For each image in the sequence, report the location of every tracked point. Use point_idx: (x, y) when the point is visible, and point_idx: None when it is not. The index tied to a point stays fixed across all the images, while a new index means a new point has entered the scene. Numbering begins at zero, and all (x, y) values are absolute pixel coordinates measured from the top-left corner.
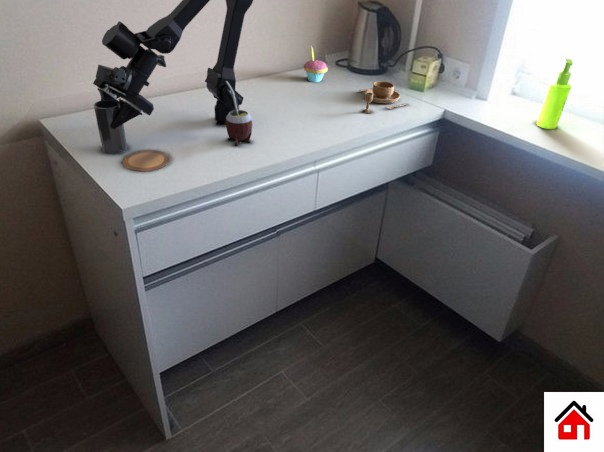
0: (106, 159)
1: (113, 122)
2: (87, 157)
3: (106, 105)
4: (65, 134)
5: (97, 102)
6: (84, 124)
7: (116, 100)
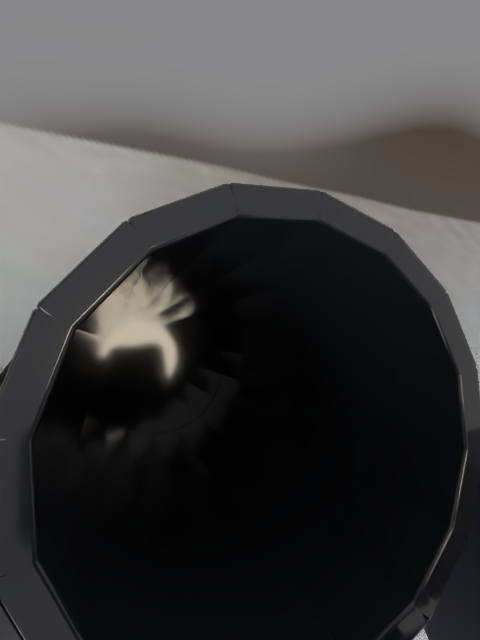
0: (53, 267)
1: (3, 377)
2: (148, 200)
3: (388, 453)
4: (427, 248)
5: (440, 324)
6: (475, 357)
7: (470, 633)
